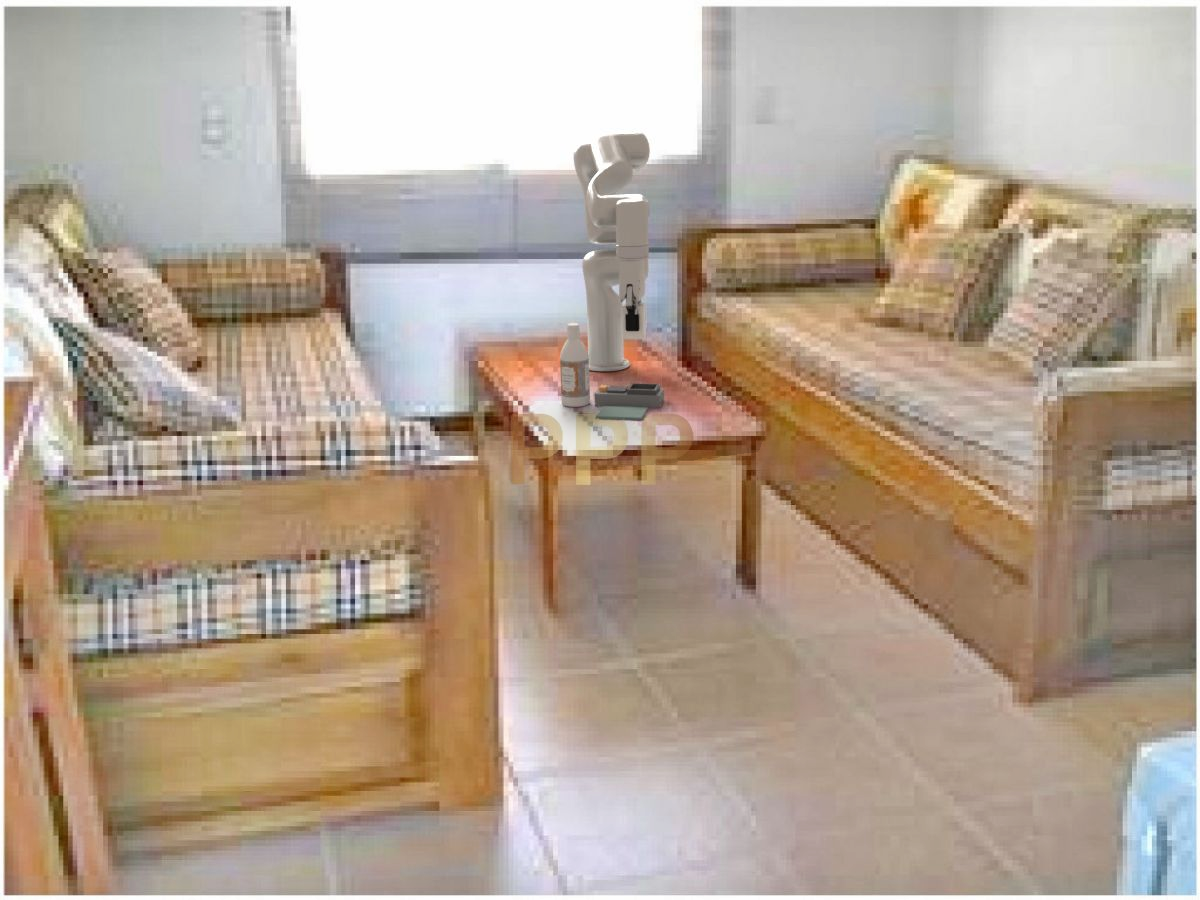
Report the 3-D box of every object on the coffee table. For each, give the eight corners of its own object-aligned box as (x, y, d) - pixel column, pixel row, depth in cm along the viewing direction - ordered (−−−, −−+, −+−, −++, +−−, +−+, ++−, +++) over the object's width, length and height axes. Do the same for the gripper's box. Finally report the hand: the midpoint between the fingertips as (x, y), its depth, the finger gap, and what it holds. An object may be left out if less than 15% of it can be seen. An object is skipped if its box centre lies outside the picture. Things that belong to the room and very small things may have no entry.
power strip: (600, 397, 344) (600, 381, 343) (664, 399, 341) (663, 383, 340) (594, 405, 338) (594, 389, 336) (659, 407, 334) (659, 390, 333)
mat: (603, 408, 335) (603, 405, 335) (647, 409, 333) (647, 407, 333) (595, 418, 327) (595, 416, 327) (641, 420, 325) (641, 417, 324)
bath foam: (556, 405, 339) (553, 325, 333) (572, 398, 344) (569, 320, 338) (579, 409, 335) (576, 328, 329) (595, 402, 341) (593, 322, 334)
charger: (625, 335, 332) (624, 296, 329) (646, 335, 331) (645, 296, 328) (622, 339, 328) (621, 299, 325) (643, 339, 327) (642, 299, 325)
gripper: (622, 246, 332) (624, 321, 338) (610, 258, 316) (612, 336, 322) (653, 246, 331) (654, 321, 336) (642, 258, 315) (644, 336, 321)
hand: (634, 328), depth 329 cm, fingers closed on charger, 4 cm apart
